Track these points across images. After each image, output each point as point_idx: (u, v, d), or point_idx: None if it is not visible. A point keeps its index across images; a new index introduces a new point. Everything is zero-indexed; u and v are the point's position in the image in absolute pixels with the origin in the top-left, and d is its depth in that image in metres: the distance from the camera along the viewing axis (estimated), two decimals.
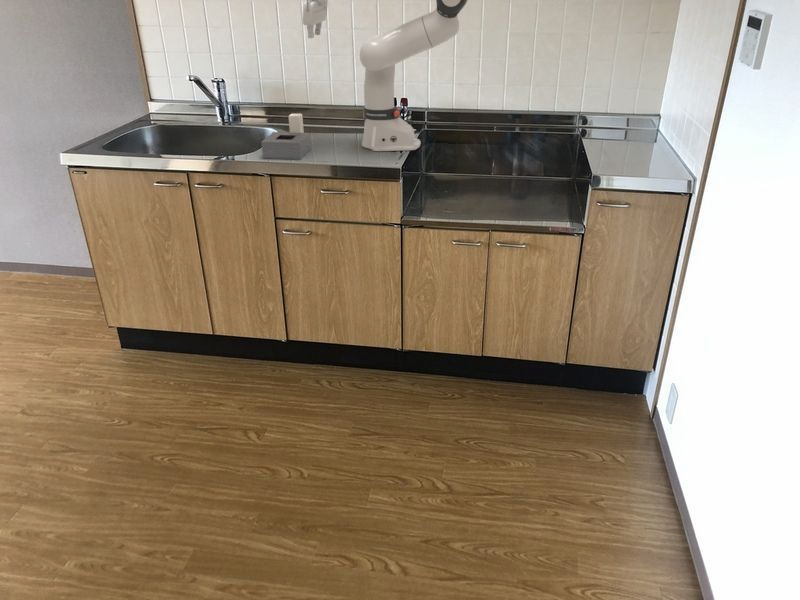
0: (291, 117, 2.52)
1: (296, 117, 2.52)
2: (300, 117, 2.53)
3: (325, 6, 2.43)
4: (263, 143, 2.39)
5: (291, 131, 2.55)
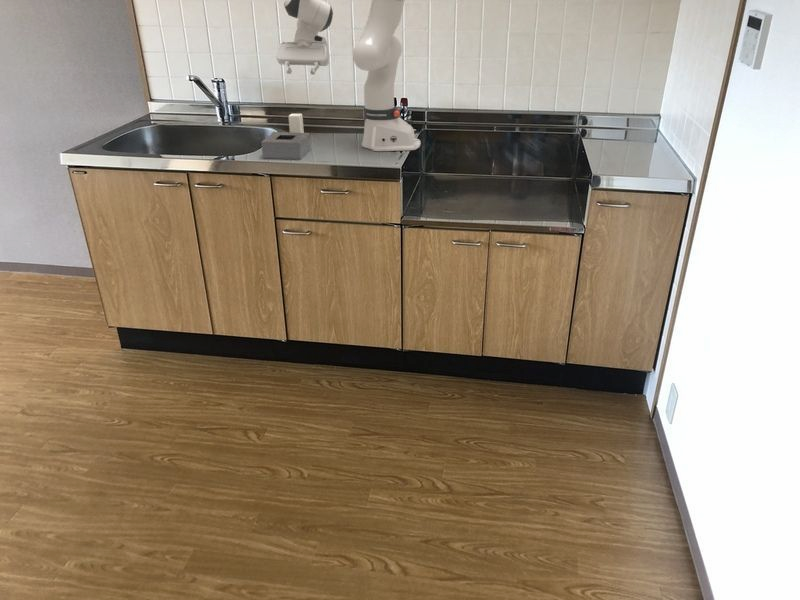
0: (291, 117, 2.52)
1: (296, 117, 2.52)
2: (300, 117, 2.53)
3: (322, 49, 2.58)
4: (263, 143, 2.39)
5: (291, 131, 2.55)
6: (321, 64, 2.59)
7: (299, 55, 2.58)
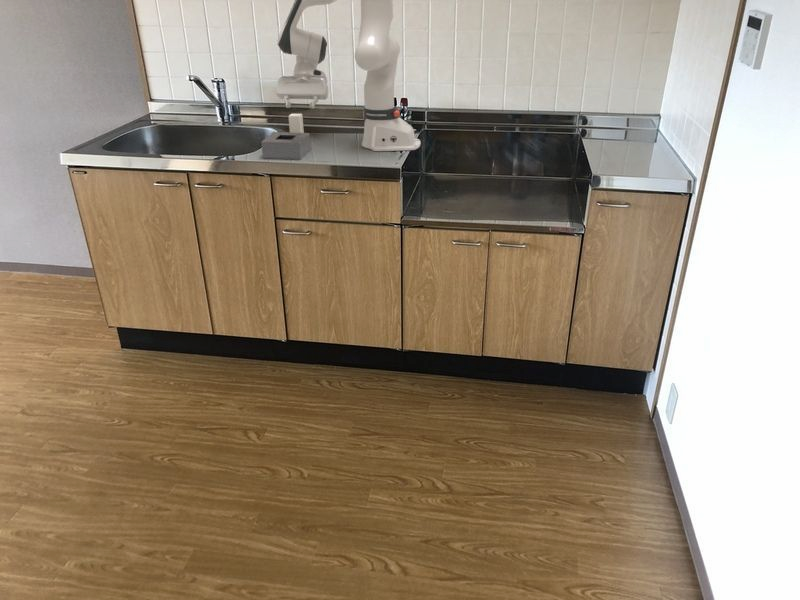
0: (291, 117, 2.52)
1: (296, 117, 2.52)
2: (300, 117, 2.53)
3: (321, 83, 2.59)
4: (263, 143, 2.39)
5: (291, 131, 2.55)
6: (320, 98, 2.60)
7: (298, 89, 2.59)
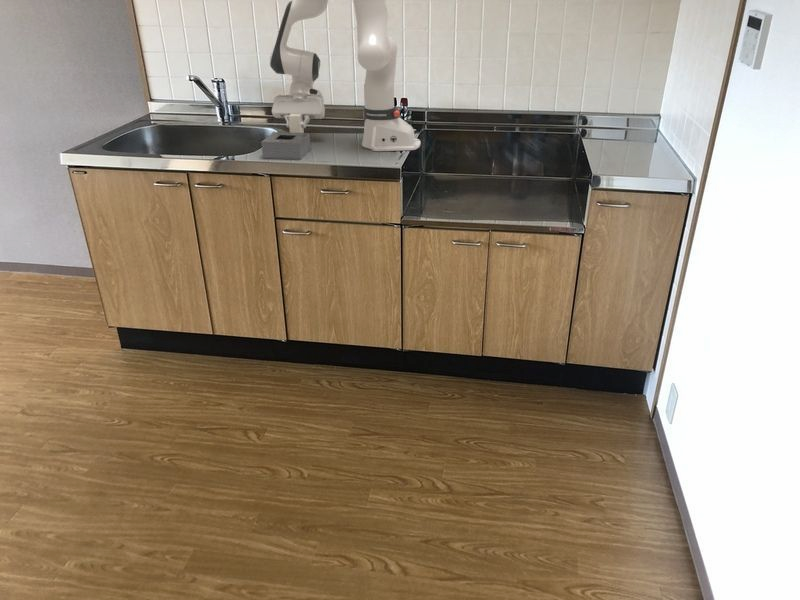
0: (291, 117, 2.52)
1: (296, 117, 2.52)
2: (300, 117, 2.53)
3: (317, 102, 2.55)
4: (263, 143, 2.39)
5: (291, 131, 2.55)
6: (316, 117, 2.56)
7: (294, 109, 2.55)
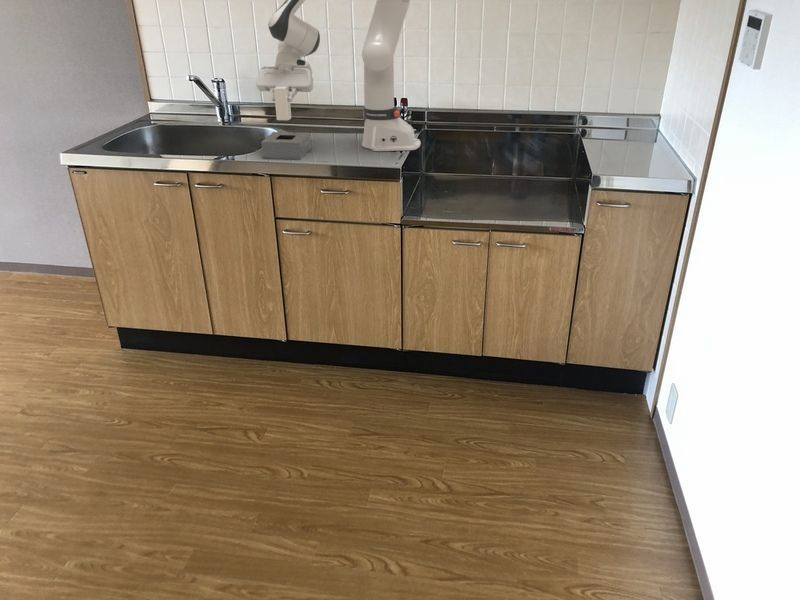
0: (277, 89, 2.34)
1: (282, 89, 2.34)
2: (286, 90, 2.35)
3: (305, 74, 2.37)
4: (263, 143, 2.39)
5: (277, 105, 2.37)
6: (304, 90, 2.38)
7: (280, 81, 2.37)
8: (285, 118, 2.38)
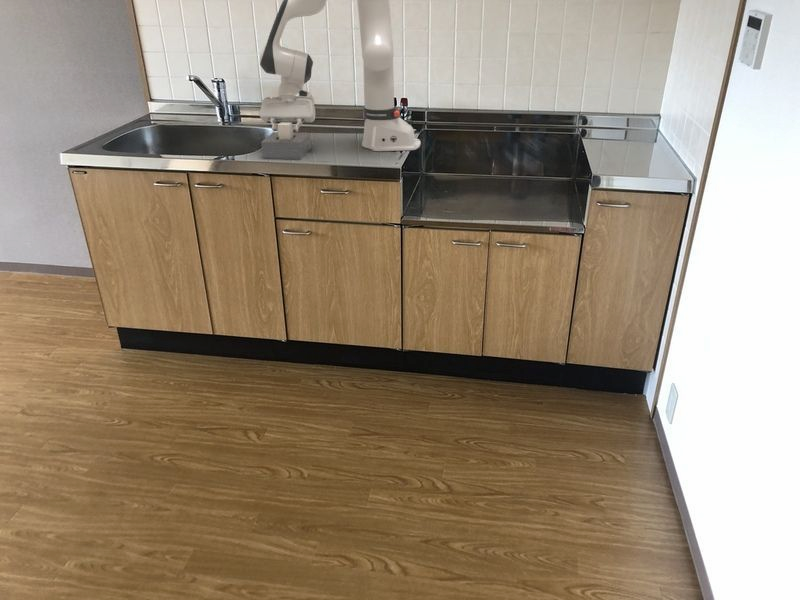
0: (280, 126, 2.40)
1: (285, 126, 2.40)
2: (290, 126, 2.41)
3: (307, 104, 2.42)
4: (263, 143, 2.39)
5: None
6: (307, 120, 2.43)
7: (283, 111, 2.42)
8: None
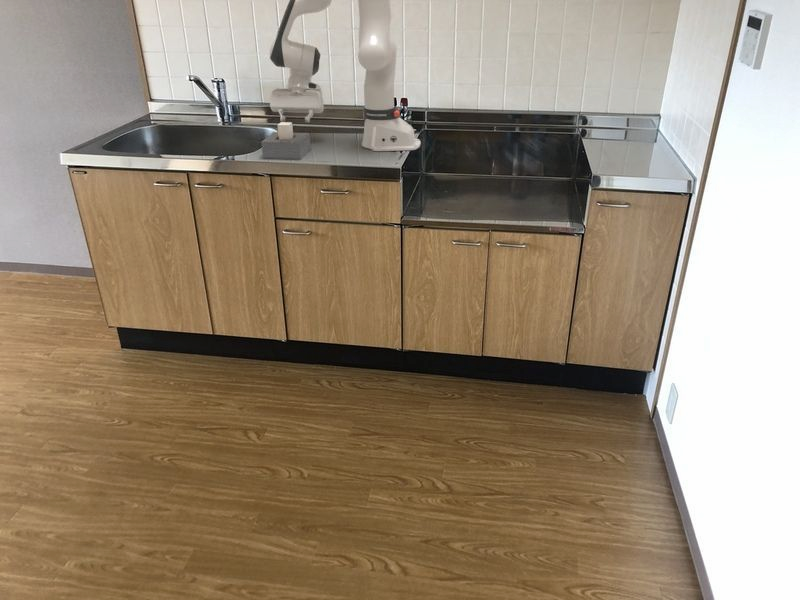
0: (280, 126, 2.40)
1: (285, 126, 2.40)
2: (290, 126, 2.41)
3: (316, 96, 2.53)
4: (263, 143, 2.39)
5: None
6: (315, 111, 2.54)
7: (293, 103, 2.53)
8: None
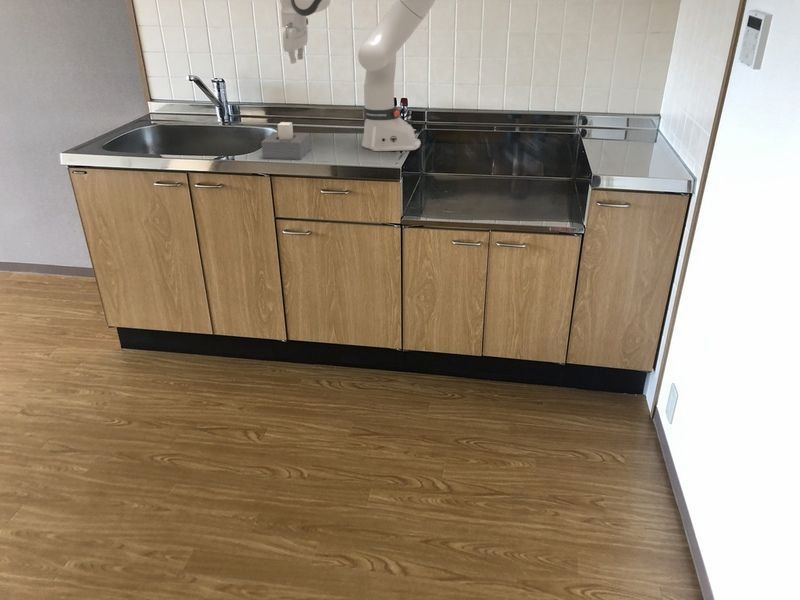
0: (280, 126, 2.40)
1: (285, 126, 2.40)
2: (290, 126, 2.41)
3: (305, 31, 2.54)
4: (263, 143, 2.39)
5: None
6: None
7: (299, 42, 2.48)
8: None
